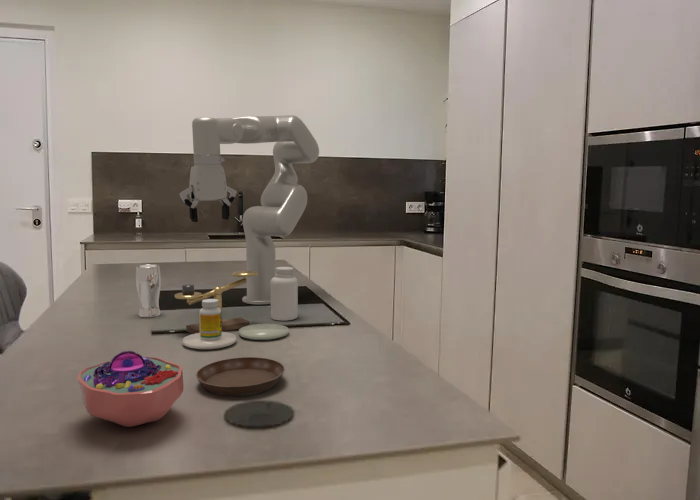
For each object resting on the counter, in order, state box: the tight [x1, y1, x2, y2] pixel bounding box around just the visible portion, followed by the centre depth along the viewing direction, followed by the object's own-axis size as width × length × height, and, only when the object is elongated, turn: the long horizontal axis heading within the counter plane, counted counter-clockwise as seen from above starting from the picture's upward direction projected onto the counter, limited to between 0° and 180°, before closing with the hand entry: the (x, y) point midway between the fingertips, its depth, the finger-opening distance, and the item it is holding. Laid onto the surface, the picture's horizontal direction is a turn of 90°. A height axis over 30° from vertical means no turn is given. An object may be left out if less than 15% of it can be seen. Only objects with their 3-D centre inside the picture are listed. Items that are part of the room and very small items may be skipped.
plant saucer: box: [195, 356, 286, 397], centre depth 122 cm, size 18×18×3 cm
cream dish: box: [182, 331, 237, 351], centre depth 150 cm, size 13×13×1 cm
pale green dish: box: [238, 323, 290, 341], centre depth 158 cm, size 13×13×1 cm
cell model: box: [77, 350, 184, 428], centre depth 103 cm, size 17×20×11 cm
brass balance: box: [174, 270, 258, 335], centre depth 163 cm, size 23×7×15 cm, turn 125°
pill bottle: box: [270, 266, 299, 322], centre depth 176 cm, size 8×8×15 cm
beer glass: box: [135, 263, 162, 319], centre depth 178 cm, size 7×7×15 cm
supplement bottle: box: [198, 298, 223, 341], centre depth 149 cm, size 5×5×10 cm
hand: (210, 220), depth 176 cm, fingers open, 9 cm apart
